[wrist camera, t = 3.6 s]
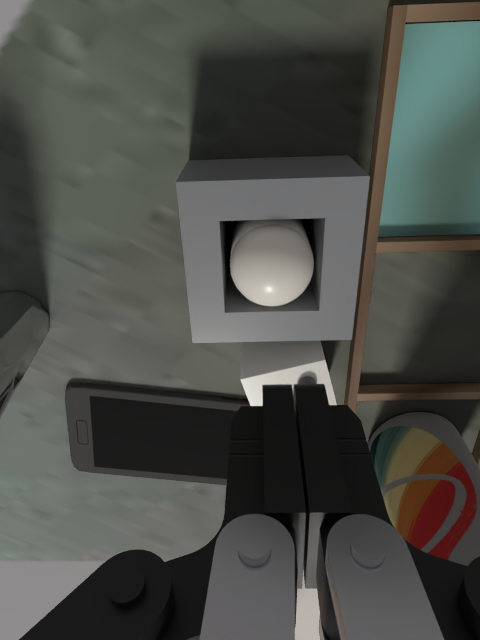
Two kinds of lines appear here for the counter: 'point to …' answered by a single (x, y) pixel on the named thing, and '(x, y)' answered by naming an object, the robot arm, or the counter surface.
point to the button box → (270, 204)
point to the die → (283, 367)
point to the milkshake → (18, 339)
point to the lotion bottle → (429, 484)
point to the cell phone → (150, 432)
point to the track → (422, 164)
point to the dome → (271, 260)
